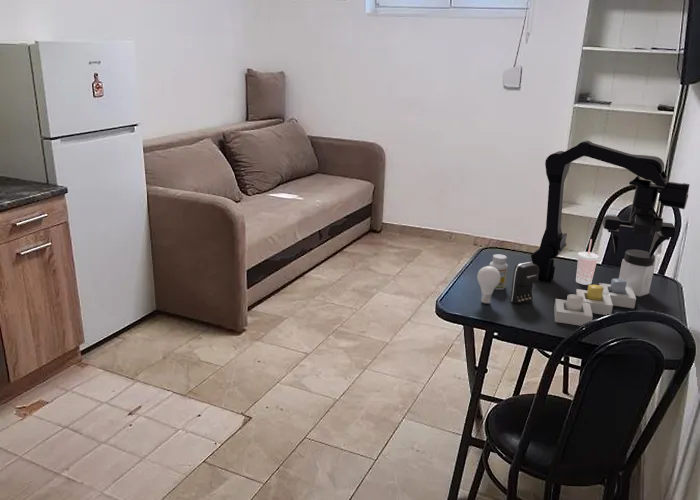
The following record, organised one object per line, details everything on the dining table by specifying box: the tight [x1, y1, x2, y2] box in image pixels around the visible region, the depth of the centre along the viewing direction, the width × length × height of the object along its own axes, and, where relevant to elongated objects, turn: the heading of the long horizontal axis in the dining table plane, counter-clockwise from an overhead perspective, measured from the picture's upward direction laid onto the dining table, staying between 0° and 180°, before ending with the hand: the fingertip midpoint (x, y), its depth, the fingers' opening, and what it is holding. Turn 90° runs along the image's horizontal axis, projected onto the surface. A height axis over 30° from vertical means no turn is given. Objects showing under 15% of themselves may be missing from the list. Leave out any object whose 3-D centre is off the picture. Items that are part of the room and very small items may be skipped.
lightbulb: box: [476, 265, 501, 305], centre depth 172 cm, size 6×6×11 cm
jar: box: [618, 249, 656, 297], centre depth 186 cm, size 9×8×12 cm
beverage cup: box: [575, 238, 600, 286], centre depth 191 cm, size 6×6×14 cm
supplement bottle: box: [488, 253, 509, 291], centre depth 184 cm, size 5×5×10 cm
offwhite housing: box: [553, 298, 593, 327], centre depth 167 cm, size 9×9×3 cm
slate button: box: [609, 278, 627, 294], centre depth 179 cm, size 4×4×4 cm
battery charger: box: [509, 261, 539, 305], centre depth 174 cm, size 7×4×11 cm, turn 120°
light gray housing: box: [598, 282, 637, 309], centre depth 180 cm, size 9×9×3 cm
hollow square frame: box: [574, 288, 614, 316], centre depth 174 cm, size 9×9×3 cm
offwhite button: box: [565, 293, 583, 312], centre depth 166 cm, size 4×4×4 cm
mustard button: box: [586, 284, 604, 301], centre depth 174 cm, size 4×4×4 cm
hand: (632, 254), depth 178 cm, fingers open, 9 cm apart
